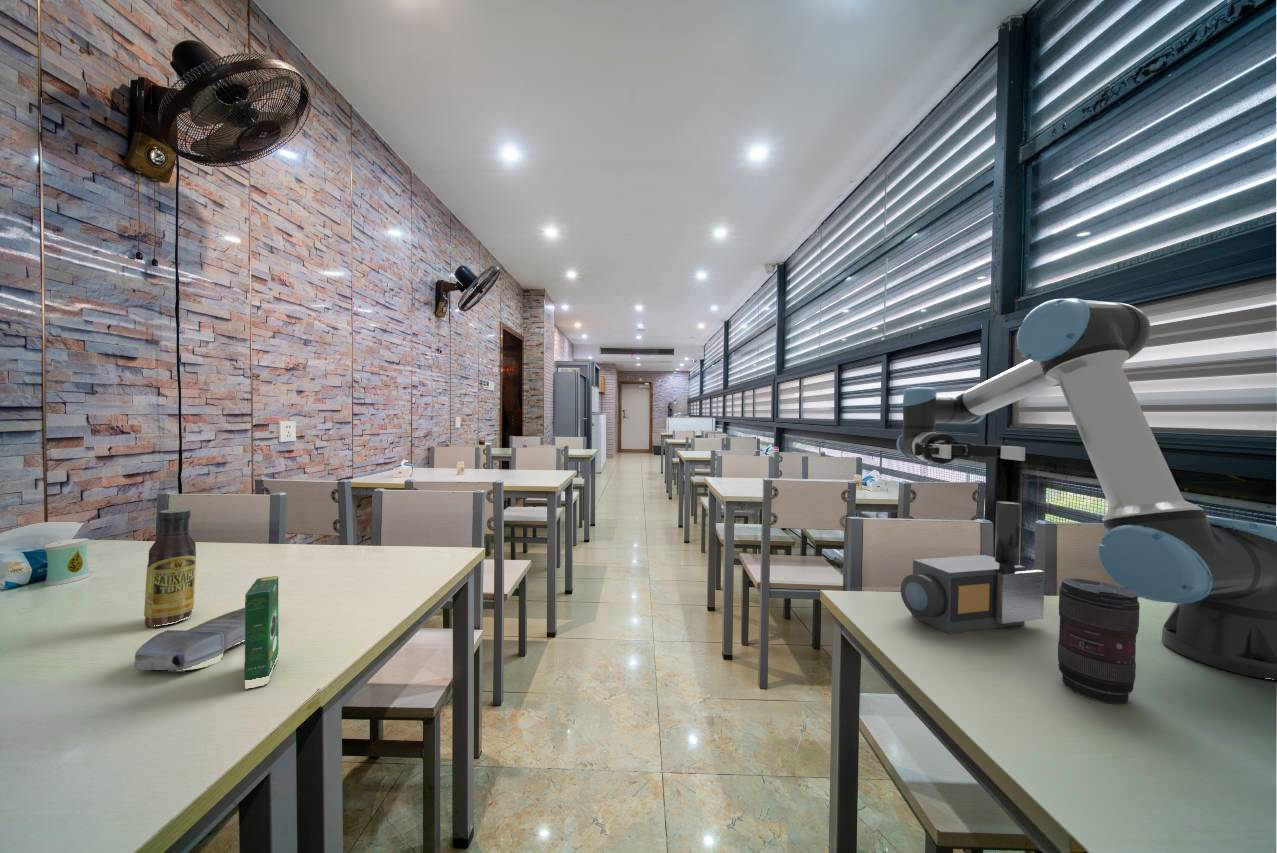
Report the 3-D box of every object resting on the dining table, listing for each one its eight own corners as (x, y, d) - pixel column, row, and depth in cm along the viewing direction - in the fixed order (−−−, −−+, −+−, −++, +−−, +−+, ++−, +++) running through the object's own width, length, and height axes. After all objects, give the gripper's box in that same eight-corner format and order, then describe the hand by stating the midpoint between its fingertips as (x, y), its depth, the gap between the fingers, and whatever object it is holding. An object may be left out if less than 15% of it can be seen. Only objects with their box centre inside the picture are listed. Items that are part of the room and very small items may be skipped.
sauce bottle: (149, 632, 78) (150, 515, 78) (139, 623, 81) (139, 511, 81) (201, 618, 84) (201, 509, 83) (189, 610, 87) (190, 505, 87)
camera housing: (983, 607, 95) (985, 554, 95) (1025, 624, 87) (1027, 567, 87) (898, 616, 90) (899, 560, 90) (934, 635, 82) (936, 574, 82)
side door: (1030, 613, 89) (1033, 500, 88) (1050, 621, 85) (1054, 503, 85) (988, 618, 86) (991, 501, 86) (1007, 626, 83) (1011, 505, 82)
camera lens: (1154, 711, 61) (1157, 599, 61) (1082, 703, 63) (1086, 594, 62) (1105, 678, 69) (1108, 579, 69) (1043, 671, 70) (1046, 574, 70)
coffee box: (255, 663, 69) (256, 576, 69) (279, 659, 70) (280, 573, 70) (242, 691, 62) (242, 594, 62) (269, 685, 63) (270, 591, 63)
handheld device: (300, 619, 84) (300, 594, 84) (190, 681, 64) (190, 649, 64) (249, 617, 85) (249, 592, 85) (124, 679, 65) (124, 646, 65)
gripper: (990, 464, 112) (1054, 473, 92) (881, 461, 116) (918, 469, 95) (991, 433, 112) (1055, 436, 91) (882, 431, 116) (919, 433, 95)
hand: (985, 453), depth 93 cm, fingers open, 13 cm apart
